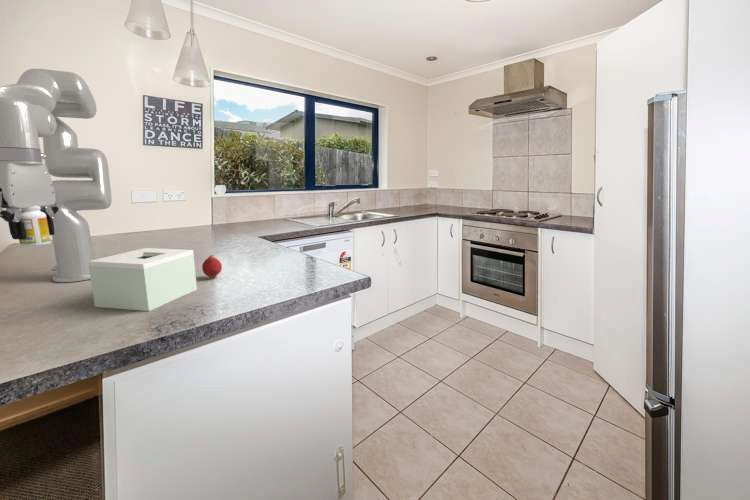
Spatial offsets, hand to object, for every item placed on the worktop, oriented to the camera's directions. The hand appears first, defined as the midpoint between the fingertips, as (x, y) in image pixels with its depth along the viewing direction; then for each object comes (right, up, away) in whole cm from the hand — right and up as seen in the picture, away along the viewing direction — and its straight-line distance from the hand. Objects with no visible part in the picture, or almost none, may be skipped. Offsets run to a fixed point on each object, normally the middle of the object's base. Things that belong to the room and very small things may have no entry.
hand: (34, 236), depth 85 cm
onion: (+26, -13, +35) cm, 45 cm away
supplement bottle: (0, -2, 0) cm, 2 cm away
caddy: (+18, -16, +15) cm, 29 cm away
